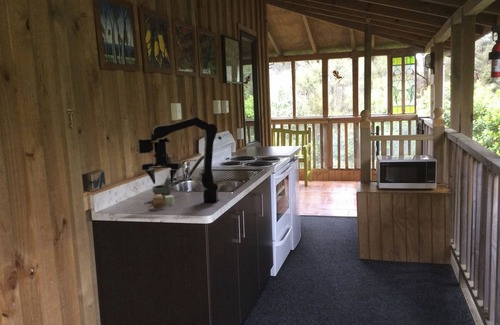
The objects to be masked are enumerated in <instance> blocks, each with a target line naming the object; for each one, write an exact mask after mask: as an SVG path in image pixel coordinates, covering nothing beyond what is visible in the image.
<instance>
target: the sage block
mask: <svg viewBox="0 0 500 325" xmlns="http://www.w3.org/2000/svg"><path fill="white" fill-rule="evenodd" d="M165 200H166V205H170V206H174V204H175V198H174V194H170V195H168V196H165Z"/></svg>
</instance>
